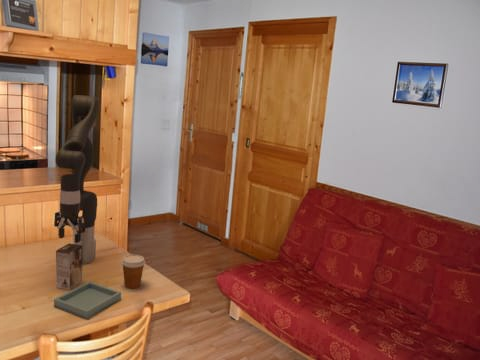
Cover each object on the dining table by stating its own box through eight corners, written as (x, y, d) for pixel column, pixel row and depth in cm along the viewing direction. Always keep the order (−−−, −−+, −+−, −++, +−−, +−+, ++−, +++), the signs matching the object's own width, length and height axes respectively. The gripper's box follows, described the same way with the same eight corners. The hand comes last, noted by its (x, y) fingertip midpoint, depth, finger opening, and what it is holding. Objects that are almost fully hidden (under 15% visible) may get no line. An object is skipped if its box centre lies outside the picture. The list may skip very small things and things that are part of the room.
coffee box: (68, 278, 186) (69, 242, 183) (82, 281, 185) (83, 245, 181) (55, 287, 177) (55, 250, 174) (70, 290, 176) (70, 252, 173)
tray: (89, 288, 179) (89, 281, 178) (120, 299, 173) (121, 292, 172) (54, 306, 163) (54, 299, 162) (86, 319, 157) (87, 311, 156)
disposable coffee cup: (130, 278, 191) (132, 252, 189) (148, 284, 187) (150, 257, 185) (115, 286, 183) (116, 259, 180) (134, 292, 179) (135, 265, 176)
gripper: (90, 202, 174) (89, 241, 177) (64, 195, 180) (63, 233, 183) (76, 206, 167) (75, 246, 171) (49, 199, 173) (48, 238, 176)
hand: (69, 239), depth 177 cm, fingers open, 8 cm apart
